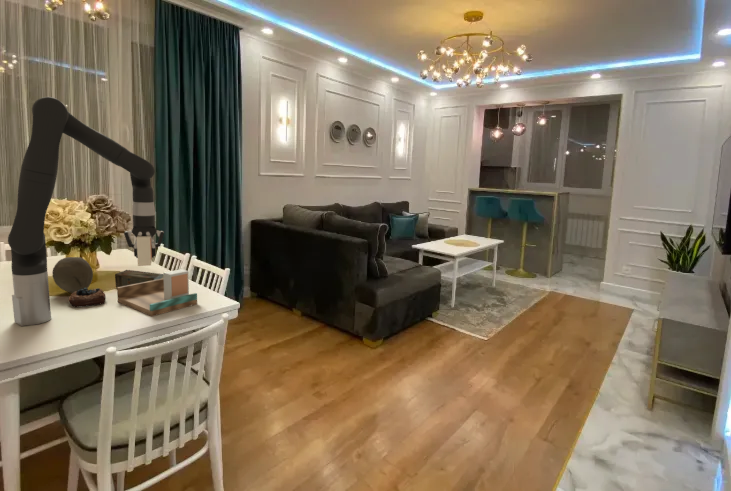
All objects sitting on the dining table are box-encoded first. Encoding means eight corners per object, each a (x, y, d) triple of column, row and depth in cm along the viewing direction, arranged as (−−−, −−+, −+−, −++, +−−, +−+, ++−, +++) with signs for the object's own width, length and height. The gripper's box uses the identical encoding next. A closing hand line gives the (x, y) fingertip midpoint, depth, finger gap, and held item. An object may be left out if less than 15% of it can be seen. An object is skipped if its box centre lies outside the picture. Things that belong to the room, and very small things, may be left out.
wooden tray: (151, 316, 152) (151, 300, 151) (117, 301, 164) (117, 287, 163) (197, 304, 168) (197, 289, 167) (163, 291, 180) (162, 278, 179)
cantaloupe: (100, 287, 180) (98, 254, 178) (83, 297, 167) (81, 261, 164) (65, 287, 178) (62, 253, 176) (45, 297, 165) (42, 260, 162)
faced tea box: (171, 301, 163) (170, 274, 161) (164, 299, 165) (163, 272, 163) (189, 297, 169) (188, 271, 167) (182, 294, 172) (181, 269, 170)
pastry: (107, 304, 162) (106, 290, 161) (70, 309, 154) (69, 294, 153) (103, 296, 170) (102, 283, 169) (67, 301, 163) (66, 286, 162)
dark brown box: (154, 291, 181) (154, 276, 180) (114, 287, 183) (113, 272, 182) (165, 286, 189) (165, 272, 187) (126, 282, 191) (126, 268, 189)
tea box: (151, 265, 158) (150, 237, 156) (137, 265, 156) (136, 237, 154) (152, 260, 165) (151, 233, 163) (139, 261, 163) (138, 233, 161)
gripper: (120, 214, 151) (122, 260, 154) (164, 215, 156) (165, 259, 160) (123, 212, 157) (125, 255, 160) (164, 212, 163) (165, 254, 166)
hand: (145, 257), depth 160 cm, fingers closed on tea box, 4 cm apart
